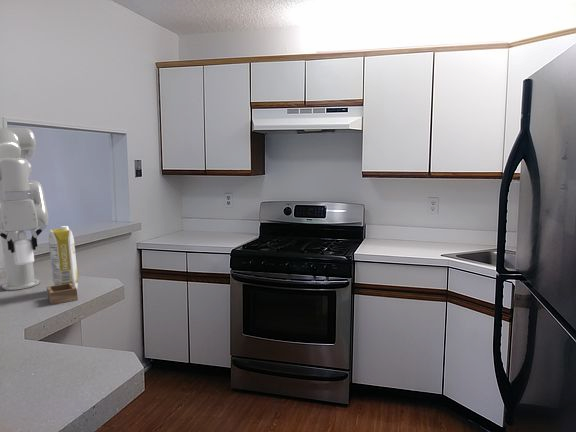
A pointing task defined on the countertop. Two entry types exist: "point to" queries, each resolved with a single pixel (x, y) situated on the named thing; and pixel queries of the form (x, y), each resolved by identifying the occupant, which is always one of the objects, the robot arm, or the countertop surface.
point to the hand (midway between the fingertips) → (23, 250)
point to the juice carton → (63, 256)
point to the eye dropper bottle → (23, 249)
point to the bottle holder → (62, 293)
